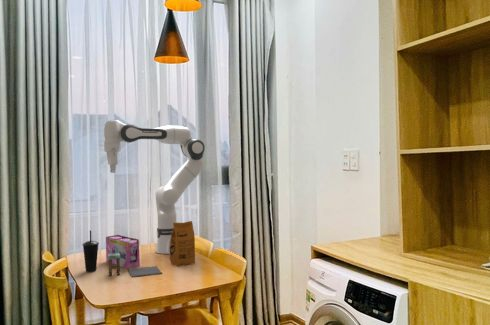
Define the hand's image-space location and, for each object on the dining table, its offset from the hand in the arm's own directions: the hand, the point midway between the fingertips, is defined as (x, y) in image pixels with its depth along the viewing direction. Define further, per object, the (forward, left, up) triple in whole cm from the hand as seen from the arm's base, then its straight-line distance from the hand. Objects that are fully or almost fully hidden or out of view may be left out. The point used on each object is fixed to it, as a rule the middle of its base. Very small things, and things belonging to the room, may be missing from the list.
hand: (112, 172), depth 236 cm
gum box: (-3, +19, -48) cm, 52 cm away
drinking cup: (+13, +28, -48) cm, 57 cm away
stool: (+3, +40, -48) cm, 62 cm away
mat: (-11, +42, -48) cm, 65 cm away
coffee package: (-32, +33, -48) cm, 66 cm away
